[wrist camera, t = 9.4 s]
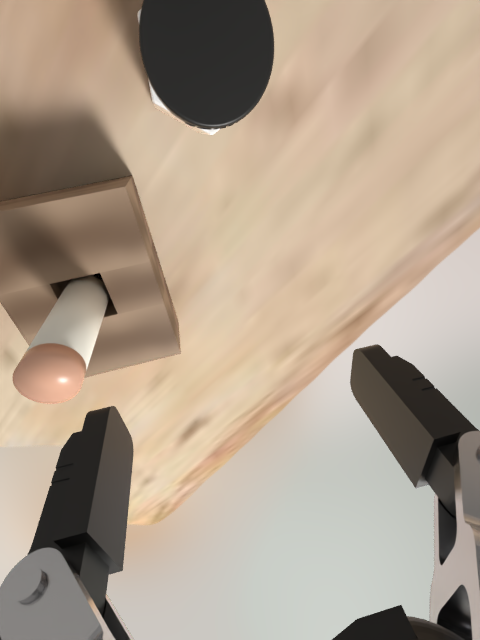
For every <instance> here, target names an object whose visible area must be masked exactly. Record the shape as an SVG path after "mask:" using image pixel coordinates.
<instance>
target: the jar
mask: <svg viewBox="0 0 480 640" xmlns="http://www.w3.org/2000/svg"><path fill="white" fill-rule="evenodd" d="M137 16H138V22H139V43H140V51H141V56H142V60H143V64H144V67H145V71H146V74H147V76H148V80H149V86H150V92H151V98H152V101H153V104H154V106H155V108H156V109H157V110H159V111H161V112H163V113H164V114H166V115H168V116H170V117H172V118H173V119H175V120H177V121H179V122H180V123H182V124H184V125H186V126H188V127H189V128H191V129H193V130H195V131H197V132H198V133H203V134H209V135H213V134H215V133H216V132H217V131H218V130H220V129H221V128H225V127H226V126H231V125H233V124H234V123H237V122H238V121H239V120H241V119H243V118H244V117H245V116H246V115H248V114H249V113H250V112H251V111H252V110H253V108H254V107H255V106H256V105H257V103H258V102H259V100H260V99H261V97H262V95H263V94H264V91H265V89H266V87H267V84H268V82H269V79H270V75H271V71H272V66H273V59H274V35H273V27H272V23H271V18H270V15H269V11H268V8H267V5H266V3H265V0H144V1H143V4H142V8H141V9H140V10H139V11H138V14H137Z"/></svg>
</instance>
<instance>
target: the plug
mask: <svg viewBox="0 0 480 640" xmlns="http://www.w3.org/2000/svg"><path fill="white" fill-rule="evenodd" d="M109 297H110V295H109V293H108V290H107V288H106V286H105V283H104V282H103V281H102V280H100V279H99V278H97V277H94V276H91V275H88V276H83V277H79V278H74V279H71V280H70V281H69V282H68V284H67V286H66V287H65V289H64V291H63V292H62V294H61V295H60V297H59V299H58V300H57V302H56V304H55V305H54V307H53V308H52V310H51V312H50V313H49V315H48V317H47V318H46V320H45V322H44V323H43V325H42V326H41V328H40V330H39V331H38V333H37V335H36V336H35V338H34V340H33V341H32V343H31V344H30V346H29V348H28V349H27V351H26V353H25V354H24V356H23V358H22V359H21V361H20V362H19V364H18V366H17V367H16V369H15V371H14V373H13V383H14V386H15V387H16V389H17V390H18V391H19V392H20V393H21V394H22V395H23V396H25V397H26V398H28V399H30V400H33V401H36V402H40V403H46V404H55V403H62V402H65V401H68V400H70V399H72V398H73V397H75V396H76V395H77V394H78V392H79V391H80V389H81V386H82V383H83V380H84V377H85V374H86V370H87V367H88V364H89V361H90V358H91V355H92V352H93V348H94V345H95V342H96V339H97V336H98V333H99V329H100V326H101V323H102V320H103V317H104V314H105V311H106V307H107V304H108V301H109Z"/></svg>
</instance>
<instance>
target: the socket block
mask: <svg viewBox="0 0 480 640" xmlns="http://www.w3.org/2000/svg"><path fill="white" fill-rule="evenodd" d="M97 273H100V274H101V276H102V279H103V281H104V283H105V286H106V288H107V290H108V293H109V295H110V297H109V301H108V304H107V307H106V311H105V314H104V317H103V320H102V323H101V326H100V329H99V333H98V336H97V339H96V342H95V345H94V348H93V352H92V355H91V358H90V361H89V364H88V367H87V370H86V374H85V377H89V376H93V375H97V374H101V373H105V372H109V371H113V370H117V369H121V368H125V367H129V366H133V365H137V364H141V363H145V362H149V361H153V360H157V359H161V358H165V357H169V356H173V355H177V354H181V351H180V337H179V324H178V319H177V316H176V313H175V310H174V306H173V303H172V300H171V297H170V294H169V291H168V287H167V284H166V281H165V278H164V275H163V271H162V268H161V265H160V262H159V259H158V256H157V252H156V249H155V246H154V243H153V240H152V237H151V233H150V230H149V227H148V224H147V221H146V218H145V214H144V211H143V208H142V205H141V202H140V198H139V195H138V192H137V189H136V186H135V183H134V179H133V176H128V177H123V178H117V179H112V180H107V181H102V182H97V183H92V184H87V185H82V186H77V187H72V188H67V189H61V190H56V191H51V192H46V193H41V194H36V195H31V196H26V197H21V198H16V199H10V200H5V201H0V302H1V304H2V305H3V307H4V308H5V310H6V311H7V313H8V314H9V316H10V318H11V319H12V321H13V322H14V324H15V325H16V327H17V328H18V330H19V331H20V333H21V334H22V336H23V337H24V339H25V340H26V342H27V343H28V345H29V346H30V344H31V343H32V341H33V340H34V338H35V336H36V335H37V333H38V331H39V330H40V328H41V326H42V325H43V323H44V322H45V320H46V318H47V317H48V315H49V313H50V312H51V310H52V308H53V307H54V305H55V304H56V302H57V300H58V299H59V297H60V295H61V294H62V292H63V291H64V289H65V287H66V286H67V284H68V282H69V281H70V280H71V279H74V278H79V277H83V276H88V275H92V274H97ZM85 377H84V378H85Z"/></svg>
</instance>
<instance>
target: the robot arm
mask: <svg viewBox="0 0 480 640" xmlns="http://www.w3.org/2000/svg"><path fill="white" fill-rule="evenodd" d="M350 383H351V389H352V392H353V395H354V396H355V398H356V400H357V401H358V403H359V404H360V406H361V408H362V409H363V411H364V412H365V413H366V415H367V416H368V418H369V419H370V421H371V422H372V424H373V425H374V427H375V428H376V430H377V431H378V433H379V434H380V436H381V437H382V439H383V440H384V442H385V443H386V445H387V446H388V448H389V449H390V451H391V452H392V454H393V455H394V457H395V458H396V460H397V461H398V463H399V464H400V465H401V467H402V469H403V470H404V471H405V473H406V474H407V476H408V477H409V479H410V480H411V482H412V483H413V485H414V486H415V488H418V487H422V486H425V485H430V486H431V488H432V489H433V491H434V492H435V496H434V574H433V580H432V584H431V592H430V621H427V620H424V619H419V618H415V617H409V616H406V614H405V612H404V610H403V608H402V606H401V605H400V606H396V607H393V608H390V609H387V610H384V611H381V612H378V613H374V614H372V615H368V616H365V617H362V618H359V619H357V620H355V621H354V622H353V623H352V624H350V625H349V626H348V627H347V628H346V629H344V630H343V631H342V632H341V633H340V634H338V635H337V636H336V637H335V638H333V639H332V640H480V431H479V430H478V429H476V428H475V427H474V426H473V425H472V424H471V423H470V422H469V421H468V420H467V419H466V418H465V417H464V416H463V415H462V414H461V413H460V412H459V411H458V410H457V409H456V408H455V407H454V406H453V405H452V404H451V403H450V402H449V401H448V400H447V399H446V398H445V397H444V395H443V394H442V393H441V392H440V391H439V390H438V389H435V388H434V386H433V384H431V382H430V381H429V380H427V379H425V377H424V375H423V374H422V373H421V372H420V371H419V370H417V368H416V367H415V366H414V365H412V364H411V363H409V362H407V361H405V360H403V359H402V358H400V357H398V356H394V357H390V355H389V354H388V353H387V352H386V351H385V350H384V349H383V348H382V347H381V346H380V345H373V346H368V347H364V348H359V349H356V350H354V353H353V361H352V370H351V381H350ZM132 463H133V442H132V438H131V435H130V433H129V431H128V429H127V427H126V426H125V424H124V422H123V420H122V418H121V416H120V414H119V412H118V410H117V409H116V407H114V406H111V407H107V408H103V409H99V410H94V411H90V412H88V413H87V415H86V418H85V421H84V425H83V429H82V431H80V432H76V433H73V434H72V435H71V437H70V438H69V440H68V441H67V442H66V444H65V445H64V447H63V448H62V450H61V452H60V456H59V459H58V462H57V465H56V471H55V472H54V475H53V478H52V482H51V483H52V486H50V488H49V491H48V495H47V498H46V501H45V504H44V508H43V511H42V514H41V517H40V521H39V524H38V527H37V530H36V533H35V537H34V540H33V543H32V546H31V549H30V551H29V553H28V555H27V556H26V557H24V558H23V559H22V560H21V561H20V562H19V563H18V564H17V565H16V566H15V567H14V568H13V569H12V570H11V571H10V572H9V574H8V575H7V577H6V578H5V580H4V581H3V583H2V585H1V587H0V640H134V638H133V637H132V635H131V633H130V632H129V630H128V628H127V627H126V625H125V624H124V622H123V620H122V618H121V617H120V615H119V613H118V612H117V610H116V609H115V607H114V605H113V604H112V602H111V600H110V599H109V597H108V595H107V594H106V590H107V582H108V575H109V574H113V573H116V572H120V571H122V570H123V560H124V549H125V539H126V528H127V517H128V506H129V495H130V485H131V474H132Z"/></svg>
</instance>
